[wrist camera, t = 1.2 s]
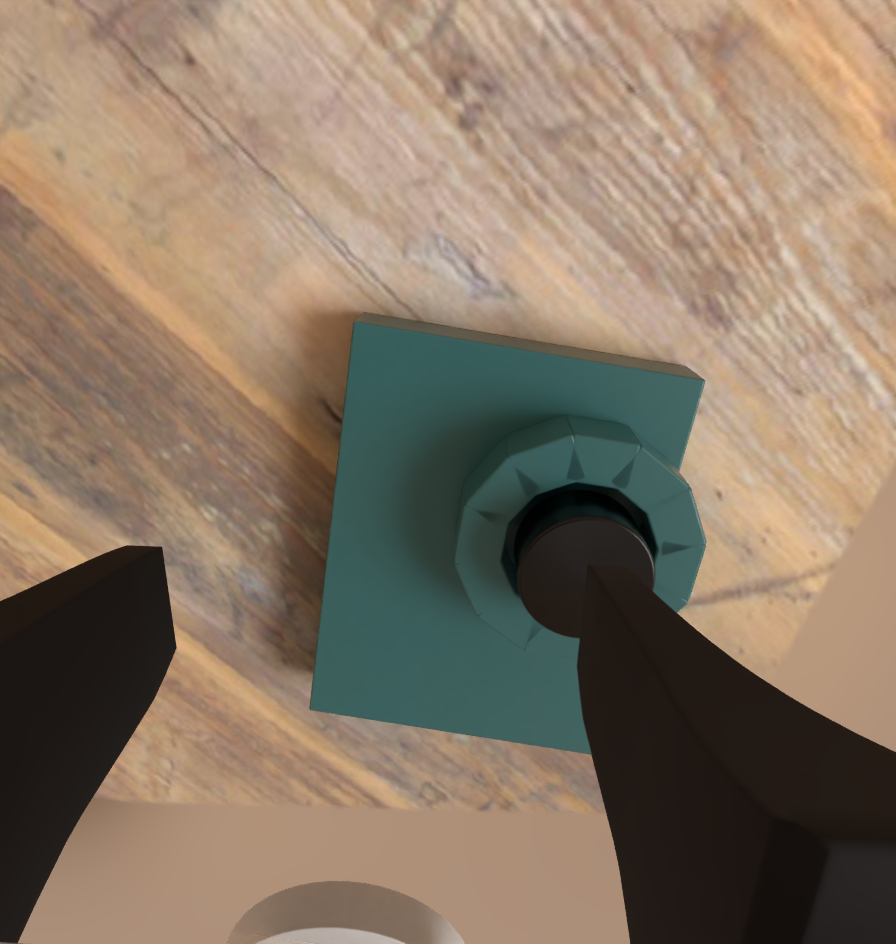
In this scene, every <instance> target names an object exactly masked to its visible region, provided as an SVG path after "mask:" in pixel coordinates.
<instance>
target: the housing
mask: <svg viewBox="0 0 896 944" xmlns="http://www.w3.org/2000/svg"><path fill="white" fill-rule="evenodd" d="M704 384H705V380H704V379H703V378H701V377H700V376H699V375H697V374H696V373H695V372H693V371H692V370H691V369H689V368H688V367H686V366H680V365H674V364H668V363H662V362H656V361H650V360H645V359H639V358H633V357H627V356H621V355H615V354H609V353H603V352H597V351H591V350H585V349H579V348H573V347H567V346H562V345H556V344H550V343H544V342H538V341H532V340H526V339H520V338H514V337H508V336H502V335H496V334H490V333H484V332H478V331H473V330H467V329H461V328H455V327H449V326H443V325H437V324H431V323H425V322H419V321H413V320H407V319H401V318H395V317H389V316H384V315H378V314H372V313H366V312H365V313H363V314H362V315H361V316H360V317H358V318H357V319H356V320H355V321H354V323H353V331H352V339H351V348H350V357H349V366H348V375H347V383H346V392H345V401H344V410H343V418H342V427H341V436H340V445H339V454H338V462H337V471H336V480H335V489H334V497H333V506H332V515H331V524H330V533H329V541H328V550H327V559H326V568H325V576H324V585H323V594H322V603H321V612H320V620H319V629H318V638H317V647H316V655H315V664H314V673H313V682H312V691H311V699H310V710H314V711H320V712H326V713H333V714H339V715H345V716H351V717H358V718H364V719H370V720H377V721H383V722H389V723H396V724H402V725H408V726H415V727H421V728H427V729H434V730H440V731H446V732H453V733H459V734H465V735H472V736H478V737H484V738H491V739H497V740H503V741H509V742H516V743H522V744H528V745H535V746H541V747H547V748H554V749H560V750H566V751H573V752H579V753H585V754H591V750H590V746H589V742H588V738H587V734H586V730H585V726H584V722H583V716H582V708H581V700H580V692H579V682H578V673H577V659H578V650H579V640H580V638H571V637H567V636H563V635H560V634H557V633H554V632H552V631H550V630H548V629H547V628H545V627H543V626H542V625H540V624H539V623H538V622H537V621H536V620H535V619H534V618H533V617H532V616H531V615H530V614H529V613H528V611H527V610H526V608H525V607H524V605H523V603H522V601H521V598H520V595H519V592H518V586H517V577H516V568H515V558H514V542H515V537H516V533H517V530H518V528H519V526H520V524H521V522H522V521H523V519H524V517H525V516H526V515H527V514H528V513H529V511H530V510H532V509H533V508H534V507H535V506H536V505H537V504H539V503H540V502H541V501H543V500H545V499H547V498H548V497H551V496H553V495H556V494H558V493H562V492H566V491H573V490H587V491H594V492H598V493H601V494H604V495H607V496H609V497H611V498H613V499H615V500H616V501H618V502H619V503H620V504H622V505H623V506H624V507H625V508H626V509H627V510H628V511H629V513H630V514H631V515H632V517H633V518H634V520H635V522H636V524H637V526H638V528H639V530H640V532H641V534H642V536H643V537H644V539H645V541H646V543H647V545H648V547H649V549H650V552H651V554H652V556H653V560H654V564H655V572H656V576H655V585H654V589H653V592H654V593H655V594H656V595H658V596H659V597H660V598H661V599H662V600H663V601H664V602H665V603H666V604H667V605H668V606H670V607H671V608H672V609H673V610H674V611H675V612H676V613H677V612H678V611H679V610H680V609H681V608H683V607H684V606H685V605H686V604H687V602H688V601H687V600H689V598H690V595H691V592H692V589H693V586H694V582H695V579H696V576H697V573H698V570H699V567H700V564H701V560H702V557H703V554H704V551H705V548H706V545H705V544H706V538H705V535H704V531H703V528H702V524H701V521H700V517H699V514H698V510H697V507H696V503H695V500H694V497H693V493H692V490H691V488H690V486H689V485H688V483H687V482H686V480H685V479H684V478H683V477H682V475H681V474H680V473H679V470H680V467H681V463H682V460H683V456H684V453H685V449H686V446H687V443H688V439H689V436H690V432H691V429H692V425H693V422H694V419H695V415H696V412H697V408H698V405H699V401H700V398H701V395H702V391H703V388H704Z"/></svg>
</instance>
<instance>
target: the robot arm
mask: <svg viewBox="0 0 896 944" xmlns="http://www.w3.org/2000/svg"><path fill="white" fill-rule="evenodd" d="M175 650H176V641H175V634H174V627H173V620H172V613H171V606H170V599H169V592H168V585H167V578H166V571H165V564H164V557H163V550H162V547H153V546H128V545H127V546H124V547H121V548H118V549H115V550H112V551H110V552H107V553H105V554H102V555H100V556H98V557H95V558H93V559H91V560H89V561H86V562H84V563H82V564H80V565H78V566H76V567H73V568H71V569H69V570H67V571H65V572H63V573H61V574H58V575H56V576H54V577H52V578H50V579H48V580H46V581H44V582H41V583H39V584H37V585H35V586H33V587H31V588H29V589H26V590H24V591H22V592H20V593H18V594H16V595H14V596H11V597H9V598H7V599H4V600H2V601H0V944H19V943H18V941H19V939H20V936H21V934H22V932H23V930H24V928H25V925H26V923H27V921H28V919H29V917H30V915H31V913H32V911H33V908H34V906H35V904H36V902H37V900H38V898H39V896H40V894H41V892H42V890H43V888H44V886H45V884H46V882H47V880H48V878H49V876H50V874H51V872H52V869H53V868H54V866H55V864H56V862H57V860H58V857H59V855H60V854H61V852H62V849H63V847H64V845H65V843H66V842H67V840H68V838H69V836H70V834H71V833H72V831H73V829H74V827H75V826H76V824H77V822H78V820H79V819H80V817H81V815H82V814H83V812H84V810H85V809H86V807H87V805H88V804H89V802H90V801H91V799H92V798H93V796H94V794H95V793H96V791H97V790H98V788H99V787H100V785H101V783H102V782H103V780H104V779H105V777H106V775H107V774H108V772H109V771H110V769H111V768H112V766H113V764H114V763H115V761H116V760H117V758H118V757H119V755H120V753H121V752H122V750H123V749H124V747H125V745H126V744H127V742H128V741H129V739H130V738H131V736H132V734H133V733H134V731H135V729H136V728H137V726H138V725H139V723H140V721H141V720H142V718H143V717H144V715H145V713H146V712H147V710H148V708H149V707H150V705H151V703H152V702H153V700H154V698H155V696H156V694H157V692H158V690H159V687H160V685H161V683H162V681H163V679H164V677H165V674H166V672H167V670H168V667H169V665H170V662H171V660H172V658H173V655H174V653H175ZM577 673H578V682H579V692H580V700H581V708H582V716H583V722H584V726H585V730H586V734H587V738H588V742H589V746H590V750H591V754H592V758H593V762H594V766H595V770H596V774H597V778H598V782H599V786H600V790H601V794H602V798H603V801H604V805H605V809H606V813H607V817H608V821H609V825H610V829H611V833H612V837H613V841H614V845H615V850H616V855H617V860H618V865H619V870H620V876H621V882H622V889H623V896H624V903H625V909H626V916H627V923H628V930H629V937H630V944H896V752H894V751H892V750H890V749H888V748H886V747H884V746H881V745H879V744H877V743H875V742H873V741H871V740H869V739H867V738H864V737H863V736H860V735H858V734H856V733H854V732H853V731H851V730H849V729H847V728H845V727H843V726H841V725H840V724H838V723H836V722H834V721H832V720H830V719H828V718H826V717H825V716H823V715H821V714H819V713H817V712H815V711H813V710H811V709H810V708H808V707H806V706H805V705H803V704H801V703H799V702H798V701H796V700H794V699H793V698H791V697H789V696H788V695H786V694H785V693H783V692H781V691H780V690H779V689H777V688H775V687H774V686H772V685H771V684H769V683H768V682H766V681H765V680H763V679H761V678H760V677H758V676H757V675H755V674H754V673H752V672H751V671H749V670H748V669H747V668H745V667H744V666H742V665H741V664H740V663H738V662H737V661H735V660H734V659H733V658H732V657H730V656H729V655H728V654H726V653H725V652H724V651H722V650H721V649H720V648H718V647H717V646H716V645H715V644H713V643H712V642H711V641H709V640H708V639H707V638H706V637H704V636H703V635H702V634H701V633H700V632H698V631H697V630H696V629H695V628H694V627H692V626H691V625H690V624H689V623H688V622H687V621H685V620H684V619H683V618H682V617H681V616H680V615H679V614H677V613H676V612H675V611H674V610H673V609H672V608H671V607H670V606H668V605H667V604H666V603H665V602H664V601H663V600H662V599H661V598H660V597H659V596H658V595H656V594H655V593H654V592H653V591H652V590H651V589H650V588H649V587H648V586H647V585H646V584H645V583H644V582H642V581H641V580H640V579H639V578H638V577H637V576H636V575H635V574H634V573H633V572H632V571H630V570H629V569H628V568H627V567H626V566H620V565H595V564H588V566H587V575H586V585H585V594H584V603H583V613H582V622H581V631H580V640H579V650H578V659H577ZM20 944H21V943H20Z"/></svg>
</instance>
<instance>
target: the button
mask: <svg viewBox="0 0 896 944" xmlns="http://www.w3.org/2000/svg"><path fill="white" fill-rule="evenodd" d="M514 558H515V568H516V577H517V586H518V592H519V595H520V598H521V601H522V603H523V605H524V607H525V608H526V610H527V611H528V613H529V614H530V615H531V616H532V617H533V618H534V619H535V620H536V621H537V622H538V623H539V624H540V625H542V626H543V627H545V628H547V629H548V630H550V631H552V632H554V633H557V634H560V635H563V636H567V637H571V638H580V631H581V622H582V613H583V603H584V594H585V585H586V575H587V566H588V564H595V565H620V566H626V567H627V568H628V569H629V570H630V571H632V572H633V573H634V574H635V575H636V576H637V577H638V578H639V579H640V580H641V581H642V582H644V583H645V584H646V585H647V586H648V587H649V588H650V589H651V590H652V591H653V589H654V585H655V576H656V572H655V564H654V560H653V556H652V554H651V552H650V549H649V547H648V545H647V543H646V541H645V539H644V537H643V536H642V534H641V532H640V530H639V528H638V526H637V524H636V522H635V520H634V518H633V517H632V515H631V514H630V513H629V511H628V510H627V509H626V508H625V507H624V506H623V505H622V504H620V503H619V502H618V501H616V500H615V499H613V498H611V497H609V496H607V495H604V494H601V493H598V492H594V491H587V490H573V491H566V492H562V493H558V494H556V495H553V496H551V497H548V498H547V499H545V500H543V501H541V502H540V503H539V504H537V505H536V506H535V507H534V508H533V509H532V510H530V511H529V513H528V514H527V515H526V516H525V517H524V519H523V521H522V522H521V524H520V526H519V528H518V530H517V533H516V537H515V542H514Z"/></svg>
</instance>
